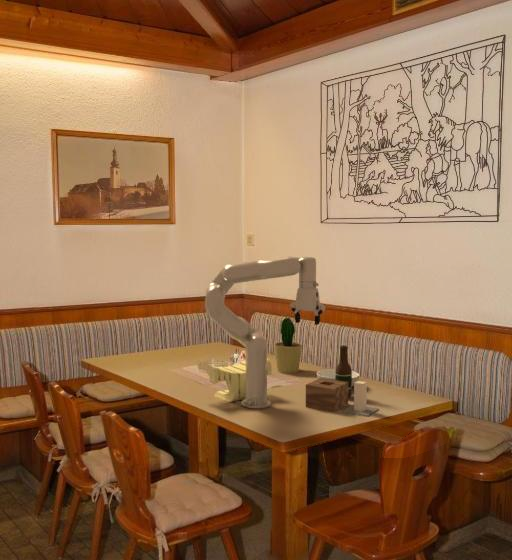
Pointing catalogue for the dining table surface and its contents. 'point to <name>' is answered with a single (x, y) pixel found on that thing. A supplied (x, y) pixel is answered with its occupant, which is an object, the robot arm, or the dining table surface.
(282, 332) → the potted cactus
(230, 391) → the slatted curved stool
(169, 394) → the dining table surface
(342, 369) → the beer bottle
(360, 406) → the square peg
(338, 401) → the wooden square ring
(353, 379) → the serving bowl
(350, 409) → the rubber mat
